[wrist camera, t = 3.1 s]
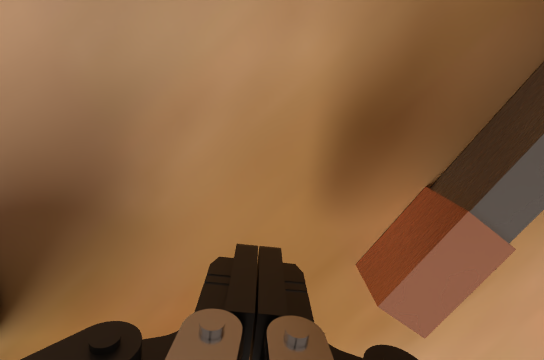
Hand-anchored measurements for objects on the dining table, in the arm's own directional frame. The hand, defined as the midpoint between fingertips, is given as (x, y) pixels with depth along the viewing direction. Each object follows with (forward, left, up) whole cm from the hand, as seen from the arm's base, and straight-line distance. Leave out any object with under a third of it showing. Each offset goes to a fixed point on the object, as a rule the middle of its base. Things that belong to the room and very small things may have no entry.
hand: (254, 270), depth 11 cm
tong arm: (-4, +10, -4) cm, 12 cm away
